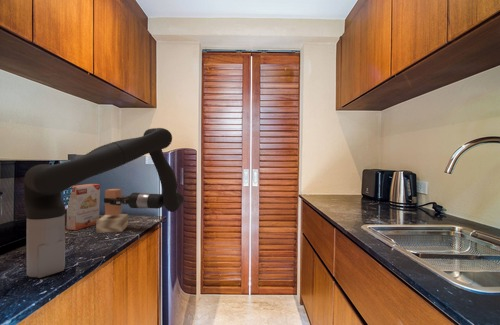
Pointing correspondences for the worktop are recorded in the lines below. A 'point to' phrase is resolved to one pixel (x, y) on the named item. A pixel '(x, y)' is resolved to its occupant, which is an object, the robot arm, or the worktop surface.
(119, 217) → the birch base block
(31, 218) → the robot arm
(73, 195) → the cracker box
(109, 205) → the orange block
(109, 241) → the worktop surface
